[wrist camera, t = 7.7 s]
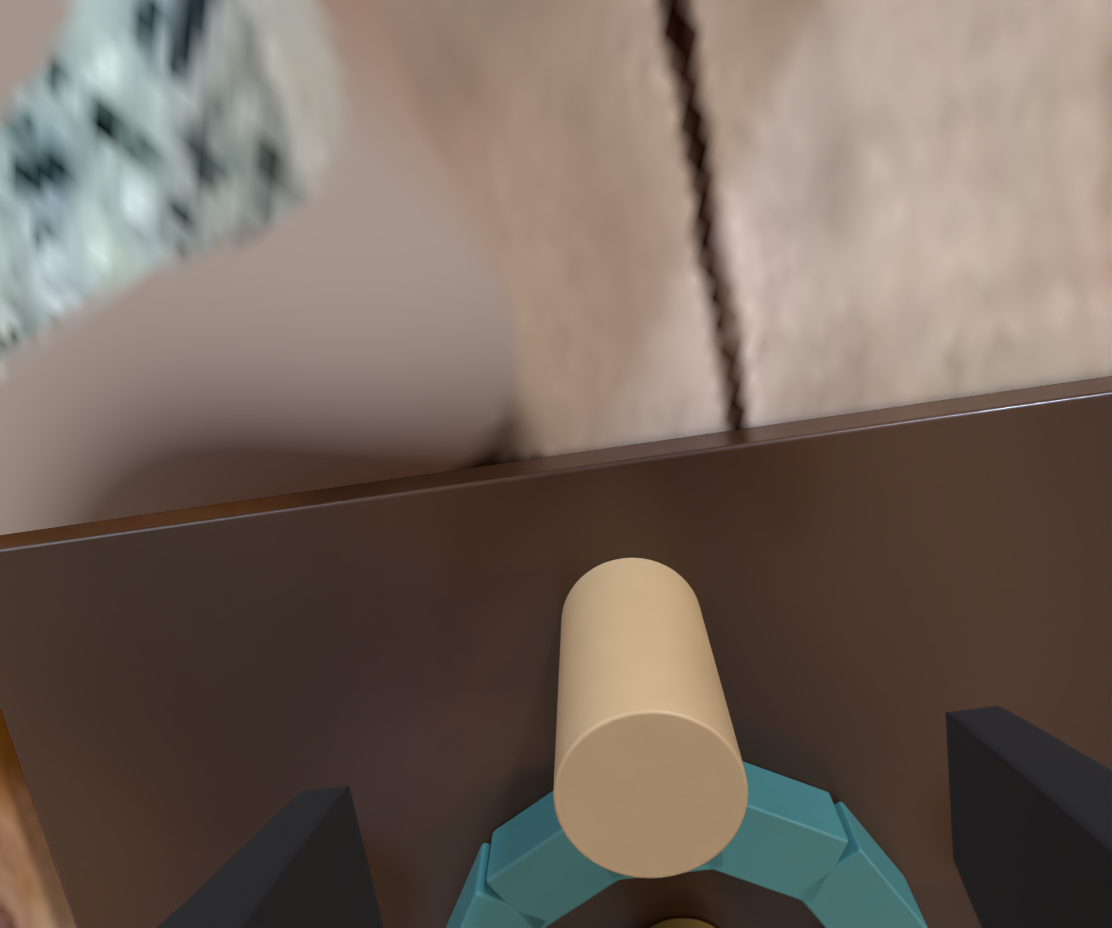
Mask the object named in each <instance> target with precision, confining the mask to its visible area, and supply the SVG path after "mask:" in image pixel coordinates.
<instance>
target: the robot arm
mask: <svg viewBox="0 0 1112 928" xmlns="http://www.w3.org/2000/svg"><path fill="white" fill-rule="evenodd" d="M945 715H946V734H947V752H948V771H949V790H950V809H951V827H952V846H953V860H954V863H955V865H956V868H957V870H958V872H959V875H960V877H961V880H962V882H963V885H964V887H965V889H966V892H967V894H968V897H969V899H970V901H971V904H972V906H973V908H974V911H975V913H976V915H977V918H978V920H979V922H980V924H981V927H982V928H1112V770H1110V769H1109V768H1107V767H1105V766H1103V765H1102V764H1100V763H1098V762H1096V761H1095V760H1093V759H1091V758H1089V757H1088V756H1086V755H1084V754H1083V753H1081V752H1079V751H1077V750H1076V749H1074V748H1072V747H1071V746H1069V745H1067V744H1065V743H1064V742H1062V741H1060V740H1059V739H1057V738H1055V737H1054V736H1052V735H1050V734H1048V733H1047V732H1045V731H1043V730H1041V729H1040V728H1038V727H1036V726H1035V725H1033V724H1031V723H1029V722H1028V721H1026V720H1024V719H1022V718H1021V717H1019V716H1017V715H1015V714H1013V713H1011V712H1010V711H1008V710H1006V709H1004V708H1002V707H1000V706H992V707H984V708H976V709H968V710H960V711H952V712H945ZM156 928H383V922H382V918H381V914H380V910H379V906H378V902H377V897H376V893H375V889H374V885H373V881H372V877H371V873H370V869H369V865H368V861H367V856H366V852H365V848H364V844H363V840H362V836H361V832H360V828H359V824H358V820H357V815H356V811H355V807H354V803H353V799H352V795H351V791H350V787H349V786H343V787H335V788H327V789H319V790H311V791H303V792H300V793H299V794H298V795H297V796H296V797H294V798H293V799H292V800H291V801H290V802H289V803H288V804H286V805H285V806H284V807H283V808H282V809H281V810H280V811H279V812H278V813H277V814H276V815H275V816H274V817H273V818H272V819H270V820H269V821H268V822H267V823H266V824H265V825H264V826H263V827H262V828H261V829H260V830H259V831H258V832H257V833H256V834H255V835H254V836H253V837H252V838H251V839H250V840H249V841H248V842H247V843H246V844H245V845H244V846H243V847H242V848H241V849H240V850H239V851H238V852H237V853H236V854H235V855H234V856H232V857H231V858H230V859H229V860H228V861H227V862H226V863H225V864H224V865H223V866H222V867H221V868H220V869H219V870H218V871H217V872H216V873H215V874H214V875H213V876H212V877H211V878H210V879H209V880H207V881H206V882H205V883H204V884H203V885H202V886H201V887H200V888H199V889H198V890H197V891H196V892H195V893H194V894H193V895H192V896H191V897H190V898H189V899H188V900H186V901H185V902H184V903H183V904H182V905H181V906H180V907H179V908H177V909H176V910H175V911H174V912H173V913H172V914H171V915H170V916H168V917H167V918H166V919H165V920H164V921H163V922H162V923H161V924H159V925H158V926H157V927H156Z"/></svg>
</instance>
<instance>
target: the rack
mask: <svg viewBox="0 0 1112 928" xmlns="http://www.w3.org/2000/svg"><path fill="white" fill-rule="evenodd" d="M621 558H643V559H648V560H652V561H655V562H659V563H661V564H663V565H665V566H667V567H669V568H671V569H672V570H674V571H675V572H677V573H678V574H679V575H680V576H681V577H682V578H683V579H684V580H685V581H686V582H687V583H688V584H689V586H690V587H691V588H692V590H693V592H694V594H695V595H696V597H697V600H698V603H699V606H700V609H701V613H702V617H703V620H704V624H705V628H706V631H707V635H708V638H709V642H710V646H711V649H712V653H713V657H714V660H715V664H716V667H717V671H718V675H719V678H720V682H721V686H722V689H723V693H724V696H725V700H726V704H727V707H728V711H729V715H730V718H731V722H732V725H733V729H734V733H735V736H736V740H737V744H738V747H739V751H740V754H741V758H742V761H743V762H746V763H749V764H752V765H755V766H757V767H760V768H763V769H766V770H768V771H771V772H774V773H777V774H779V775H782V776H785V777H788V778H791V779H793V780H796V781H799V782H802V783H804V784H807V785H810V786H813V787H815V788H818V789H821V790H824V791H826V792H828V793H829V794H830V796H831V799H832V801H833V804H836V803H837V802H840V801H841V802H842V803H844V804H845V806H846V807H847V808H848V809H849V810H850V812H851V813H852V814H853V815H854V817H855V818H856V819H857V820H858V821H859V823H860V824H861V825H862V826H863V827H864V829H865V830H866V831H867V832H868V833H869V835H870V836H871V837H872V838H873V839H874V841H875V842H876V843H877V844H878V845H879V847H880V848H881V849H882V850H883V852H884V853H885V854H886V855H887V856H888V858H889V859H890V860H891V861H892V862H893V864H894V865H895V866H896V867H897V868H898V870H899V871H900V872H901V873H902V874H903V876H904V877H905V879H906V882H907V884H908V886H909V888H910V890H911V892H912V895H913V897H914V899H915V901H916V903H917V905H918V908H919V910H920V912H921V914H922V916H923V918H924V921H925V923H926V925H927V927H928V928H982V927H981V924H980V922H979V920H978V918H977V915H976V913H975V911H974V908H973V906H972V904H971V901H970V899H969V897H968V894H967V892H966V889H965V887H964V885H963V882H962V880H961V877H960V875H959V872H958V870H957V868H956V865H955V863H954V860H953V846H952V827H951V809H950V790H949V771H948V752H947V734H946V715H945V712H952V711H960V710H968V709H976V708H984V707H992V706H1000V707H1002V708H1004V709H1006V710H1008V711H1010V712H1011V713H1013V714H1015V715H1017V716H1019V717H1021V718H1022V719H1024V720H1026V721H1028V722H1029V723H1031V724H1033V725H1035V726H1036V727H1038V728H1040V729H1041V730H1043V731H1045V732H1047V733H1048V734H1050V735H1052V736H1054V737H1055V738H1057V739H1059V740H1060V741H1062V742H1064V743H1065V744H1067V745H1069V746H1071V747H1072V748H1074V749H1076V750H1077V751H1079V752H1081V753H1083V754H1084V755H1086V756H1088V757H1089V758H1091V759H1093V760H1095V761H1096V762H1098V763H1100V764H1102V765H1103V766H1105V767H1107V768H1109V769H1110V770H1112V376H1110V377H1103V378H1096V379H1089V380H1082V381H1075V382H1068V383H1061V384H1054V385H1047V386H1040V387H1033V388H1026V389H1019V390H1012V391H1005V392H998V393H991V394H984V395H977V396H970V397H963V398H956V399H949V400H942V401H935V402H928V403H921V404H914V405H907V406H900V407H894V408H887V409H880V410H873V411H866V412H859V413H852V414H845V415H838V416H831V417H824V418H817V419H810V420H803V421H796V422H789V423H782V424H775V425H768V426H761V427H754V428H747V429H740V430H733V431H726V432H719V433H712V434H705V435H698V436H691V437H684V438H677V439H670V440H663V441H656V442H649V443H642V444H635V445H628V446H621V447H614V448H607V449H600V450H593V451H586V452H579V453H572V454H565V455H558V456H551V457H544V458H537V459H530V460H523V461H516V462H509V463H502V464H495V465H488V466H481V467H474V468H467V469H460V470H453V471H447V472H440V473H433V474H426V475H419V476H412V477H405V478H398V479H391V480H384V481H377V482H370V483H363V484H356V485H349V486H342V487H335V488H328V489H321V490H314V491H308V492H300V493H293V494H286V495H279V496H272V497H265V498H258V499H251V500H244V501H237V502H230V503H224V504H216V505H210V506H202V507H195V508H188V509H181V510H174V511H167V512H160V513H153V514H146V515H139V516H132V517H125V518H118V519H111V520H104V521H97V522H90V523H83V524H77V525H70V526H62V527H55V528H48V529H41V530H34V531H28V532H20V533H14V534H7V535H0V709H1V712H2V715H3V717H4V720H5V723H6V726H7V729H8V732H9V735H10V737H11V740H12V743H13V746H14V749H15V752H16V755H17V757H18V760H19V763H20V766H21V769H22V772H23V775H24V778H25V780H26V783H27V786H28V789H29V792H30V795H31V798H32V800H33V803H34V806H35V809H36V812H37V815H38V818H39V821H40V823H41V826H42V829H43V832H44V835H45V838H46V841H47V843H48V846H49V849H50V852H51V855H52V858H53V861H54V863H55V866H56V869H57V872H58V875H59V878H60V881H61V884H62V886H63V889H64V892H65V895H66V898H67V901H68V904H69V906H70V909H71V912H72V915H73V918H74V921H75V924H76V927H77V928H156V927H157V926H158V925H159V924H161V923H162V922H163V921H164V920H165V919H166V918H167V917H168V916H170V915H171V914H172V913H173V912H174V911H175V910H176V909H177V908H179V907H180V906H181V905H182V904H183V903H184V902H185V901H186V900H188V899H189V898H190V897H191V896H192V895H193V894H194V893H195V892H196V891H197V890H198V889H199V888H200V887H201V886H202V885H203V884H204V883H205V882H206V881H207V880H209V879H210V878H211V877H212V876H213V875H214V874H215V873H216V872H217V871H218V870H219V869H220V868H221V867H222V866H223V865H224V864H225V863H226V862H227V861H228V860H229V859H230V858H231V857H232V856H234V855H235V854H236V853H237V852H238V851H239V850H240V849H241V848H242V847H243V846H244V845H245V844H246V843H247V842H248V841H249V840H250V839H251V838H252V837H253V836H254V835H255V834H256V833H257V832H258V831H259V830H260V829H261V828H262V827H263V826H264V825H265V824H266V823H267V822H268V821H269V820H270V819H272V818H273V817H274V816H275V815H276V814H277V813H278V812H279V811H280V810H281V809H282V808H283V807H284V806H285V805H286V804H288V803H289V802H290V801H291V800H292V799H293V798H294V797H296V796H297V795H298V794H299V793H300V792H303V791H311V790H319V789H327V788H335V787H343V786H349V787H350V791H351V795H352V799H353V803H354V807H355V811H356V815H357V820H358V824H359V828H360V832H361V836H362V840H363V844H364V848H365V852H366V856H367V861H368V865H369V869H370V873H371V877H372V881H373V885H374V889H375V893H376V897H377V902H378V906H379V910H380V914H381V918H382V922H383V928H446V926H447V924H448V921H449V919H450V917H451V914H452V912H453V910H454V907H455V905H456V903H457V901H458V898H459V896H460V894H461V891H462V889H463V887H464V884H465V882H466V880H467V878H468V875H469V873H470V871H471V868H472V866H473V864H474V861H475V859H476V857H477V854H478V852H479V850H480V848H481V845H482V844H483V843H489V844H491V840H492V834H493V832H494V831H495V830H496V829H497V828H499V827H500V826H502V825H503V824H505V823H506V822H508V821H509V820H511V819H512V818H514V817H515V816H517V815H518V814H520V813H521V812H522V811H524V810H525V809H527V808H528V807H530V806H531V805H533V804H534V803H536V802H537V801H539V800H540V799H542V798H543V797H544V796H546V795H547V794H549V793H550V792H552V791H553V789H554V767H555V746H556V725H557V704H558V682H559V661H560V640H561V618H562V611H563V606H564V603H565V601H566V598H567V596H568V594H569V592H570V591H571V589H572V588H573V586H574V585H575V584H576V582H577V581H578V580H579V579H580V578H581V577H582V576H584V575H585V574H586V573H587V572H588V571H590V570H592V569H593V568H595V567H597V566H599V565H601V564H603V563H606V562H609V561H612V560H616V559H621ZM546 928H824V926H823V925H822V924H821V923H820V922H819V921H818V919H817V918H816V917H815V916H814V915H813V914H812V913H811V911H810V910H809V909H808V908H807V907H806V906H805V904H804V903H803V902H802V901H801V900H798V899H795V898H793V897H790V896H787V895H784V894H781V893H778V892H775V891H773V890H770V889H767V888H764V887H761V886H758V885H756V884H753V883H750V882H747V881H744V880H741V879H738V878H736V877H733V876H730V875H727V874H724V873H721V872H718V871H716V870H704V871H695V872H686V873H682V874H679V875H675V876H670V877H664V878H632V879H623V880H618V881H616V882H615V883H613V884H612V885H610V886H609V887H607V888H606V889H604V890H603V891H601V892H599V893H598V894H596V895H595V896H593V897H592V898H590V899H589V900H587V901H586V902H584V903H582V904H581V905H579V906H578V907H576V908H575V909H573V910H572V911H570V912H569V913H567V914H565V915H564V916H562V917H561V918H559V919H558V920H556V921H555V922H553V923H552V924H550V925H549V926H547V927H546Z"/></svg>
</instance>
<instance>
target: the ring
mask: <svg viewBox="0 0 1112 928" xmlns="http://www.w3.org/2000/svg"><path fill="white" fill-rule="evenodd" d="M704 870H716V871H718V872H721V873H724V874H727V875H730V876H733V877H736V878H738V879H741V880H744V881H747V882H750V883H753V884H756V885H758V886H761V887H764V888H767V889H770V890H773V891H775V892H778V893H781V894H784V895H787V896H790V897H793V898H795V899H798V900H801V901H802V902H803V903H804V904H805V906H806V907H807V908H808V909H809V910H810V911H811V913H812V914H813V915H814V916H815V917H816V918H817V919H818V921H819V922H820V923H821V924H822V925H823V926H824V928H928V927H927V925H926V923H925V921H924V918H923V916H922V914H921V912H920V910H919V908H918V905H917V903H916V901H915V899H914V897H913V895H912V892H911V890H910V888H909V886H908V884H907V882H906V879H905V877H904V876H903V874H902V873H901V872H900V871H899V870H898V868H897V867H896V866H895V865H894V864H893V862H892V861H891V860H890V859H889V858H888V856H887V855H886V854H885V853H884V852H883V850H882V849H881V848H880V847H879V845H878V844H877V843H876V842H875V841H874V839H873V838H872V837H871V836H870V835H869V833H868V832H867V831H866V830H865V829H864V827H863V826H862V825H861V824H860V823H859V821H858V820H857V819H856V818H855V817H854V815H853V814H852V813H851V812H850V810H849V809H848V808H847V807H846V806H845V804H844V803H842V802H841V801H840V802H837V803H836V804H833V801H832V799H831V796H830V794H829V793H828V792H826V791H824V790H821V789H818V788H815V787H813V786H810V785H807V784H804V783H802V782H799V781H796V780H793V779H791V778H788V777H785V776H782V775H779V774H777V773H774V772H771V771H768V770H766V769H763V768H760V767H757V766H755V765H752V764H749V763H746V762H743V761H742V758H741V754H740V751H739V747H738V744H737V740H736V736H735V733H734V729H733V725H732V722H731V718H730V715H729V711H728V707H727V704H726V700H725V696H724V693H723V689H722V686H721V682H720V678H719V675H718V671H717V667H716V664H715V660H714V657H713V653H712V649H711V646H710V642H709V638H708V635H707V631H706V628H705V624H704V620H703V617H702V613H701V609H700V606H699V603H698V600H697V597H696V595H695V594H694V592H693V590H692V588H691V587H690V586H689V584H688V583H687V582H686V581H685V580H684V579H683V578H682V577H681V576H680V575H679V574H678V573H677V572H675V571H674V570H672V569H671V568H669V567H667V566H665V565H663V564H661V563H659V562H655V561H652V560H648V559H643V558H621V559H616V560H612V561H609V562H606V563H603V564H601V565H599V566H597V567H595V568H593V569H592V570H590V571H588V572H587V573H586V574H585V575H584V576H582V577H581V578H580V579H579V580H578V581H577V582H576V584H575V585H574V586H573V588H572V589H571V591H570V592H569V594H568V596H567V598H566V601H565V603H564V606H563V611H562V618H561V640H560V661H559V682H558V704H557V725H556V746H555V767H554V789H553V791H552V792H550V793H549V794H547V795H546V796H544V797H543V798H542V799H540V800H539V801H537V802H536V803H534V804H533V805H531V806H530V807H528V808H527V809H525V810H524V811H522V812H521V813H520V814H518V815H517V816H515V817H514V818H512V819H511V820H509V821H508V822H506V823H505V824H503V825H502V826H500V827H499V828H497V829H496V830H495V831H494V832H493V834H492V840H491V844H489V843H483V844H482V845H481V848H480V850H479V852H478V854H477V857H476V859H475V861H474V864H473V866H472V868H471V871H470V873H469V875H468V878H467V880H466V882H465V884H464V887H463V889H462V891H461V894H460V896H459V898H458V901H457V903H456V905H455V907H454V910H453V912H452V914H451V917H450V919H449V921H448V924H447V926H446V928H546V927H547V926H549V925H550V924H552V923H553V922H555V921H556V920H558V919H559V918H561V917H562V916H564V915H565V914H567V913H569V912H570V911H572V910H573V909H575V908H576V907H578V906H579V905H581V904H582V903H584V902H586V901H587V900H589V899H590V898H592V897H593V896H595V895H596V894H598V893H599V892H601V891H603V890H604V889H606V888H607V887H609V886H610V885H612V884H613V883H615V882H616V881H618V880H623V879H632V878H664V877H670V876H675V875H679V874H682V873H686V872H695V871H704Z"/></svg>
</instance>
